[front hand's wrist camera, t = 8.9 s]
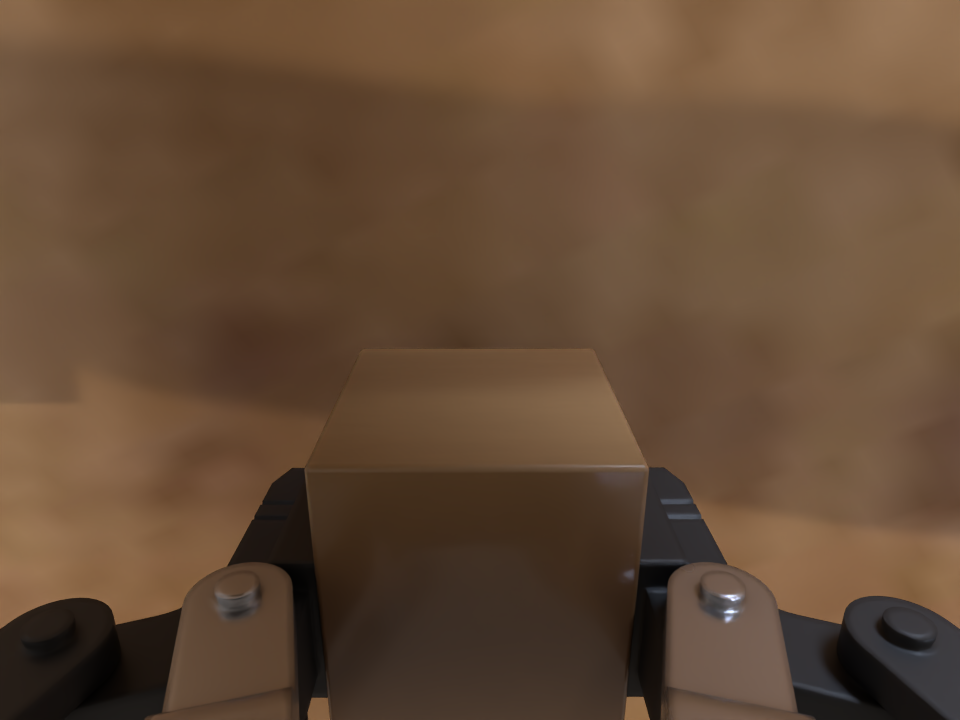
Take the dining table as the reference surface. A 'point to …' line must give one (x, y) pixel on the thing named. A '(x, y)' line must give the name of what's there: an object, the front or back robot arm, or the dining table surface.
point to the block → (477, 537)
